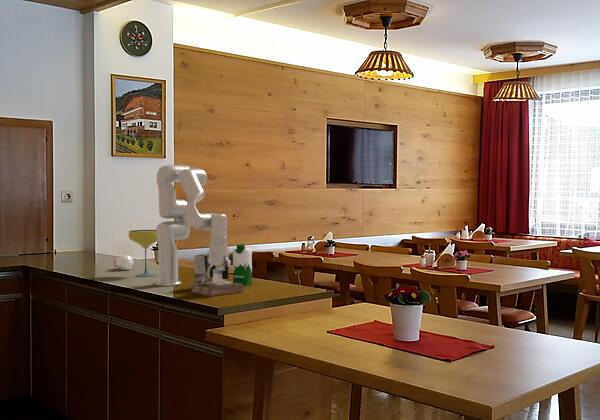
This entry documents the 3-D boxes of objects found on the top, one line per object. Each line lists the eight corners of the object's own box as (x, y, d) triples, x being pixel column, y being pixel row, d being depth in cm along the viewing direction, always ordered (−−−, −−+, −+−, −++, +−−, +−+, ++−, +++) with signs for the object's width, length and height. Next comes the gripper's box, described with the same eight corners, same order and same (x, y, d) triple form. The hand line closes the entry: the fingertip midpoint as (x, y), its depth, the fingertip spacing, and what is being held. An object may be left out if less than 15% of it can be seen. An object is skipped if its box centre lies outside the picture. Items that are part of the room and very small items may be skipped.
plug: (212, 290, 309) (212, 269, 309) (220, 289, 312) (220, 268, 312) (218, 291, 306) (217, 269, 306) (225, 290, 309) (225, 269, 309)
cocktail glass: (143, 273, 384) (142, 229, 383) (169, 274, 376) (168, 230, 375) (122, 276, 367) (121, 231, 367) (148, 278, 360) (148, 232, 359)
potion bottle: (127, 273, 394) (117, 274, 405) (139, 263, 399) (129, 264, 411) (117, 261, 391) (107, 262, 403) (130, 250, 396) (119, 252, 408)
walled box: (191, 292, 308) (191, 284, 308) (223, 288, 320) (223, 281, 320) (210, 296, 296) (210, 288, 296) (243, 292, 308) (243, 284, 308)
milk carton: (230, 285, 331) (230, 245, 331) (238, 283, 340) (238, 243, 339) (247, 286, 328) (246, 245, 328) (254, 283, 337) (254, 244, 336)
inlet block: (205, 290, 309) (205, 282, 309) (221, 288, 315) (221, 280, 315) (216, 292, 303) (216, 284, 303) (233, 290, 309) (232, 282, 309)
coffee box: (207, 289, 317) (206, 255, 317) (194, 289, 319) (193, 255, 318) (213, 286, 326) (213, 253, 326) (200, 286, 328) (200, 253, 327)
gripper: (201, 240, 312) (202, 277, 313) (222, 242, 299) (223, 280, 300) (215, 239, 317) (215, 275, 318) (236, 241, 304) (236, 279, 305)
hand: (219, 278), depth 309 cm, fingers open, 9 cm apart
